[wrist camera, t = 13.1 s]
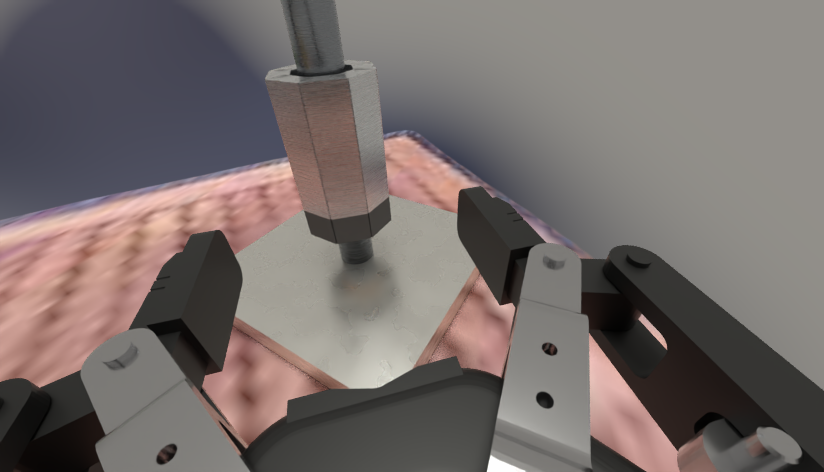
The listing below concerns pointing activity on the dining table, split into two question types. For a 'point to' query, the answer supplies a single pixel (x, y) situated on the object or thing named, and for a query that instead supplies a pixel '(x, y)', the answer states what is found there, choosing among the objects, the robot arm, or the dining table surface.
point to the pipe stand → (351, 267)
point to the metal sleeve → (333, 138)
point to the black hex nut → (350, 225)
